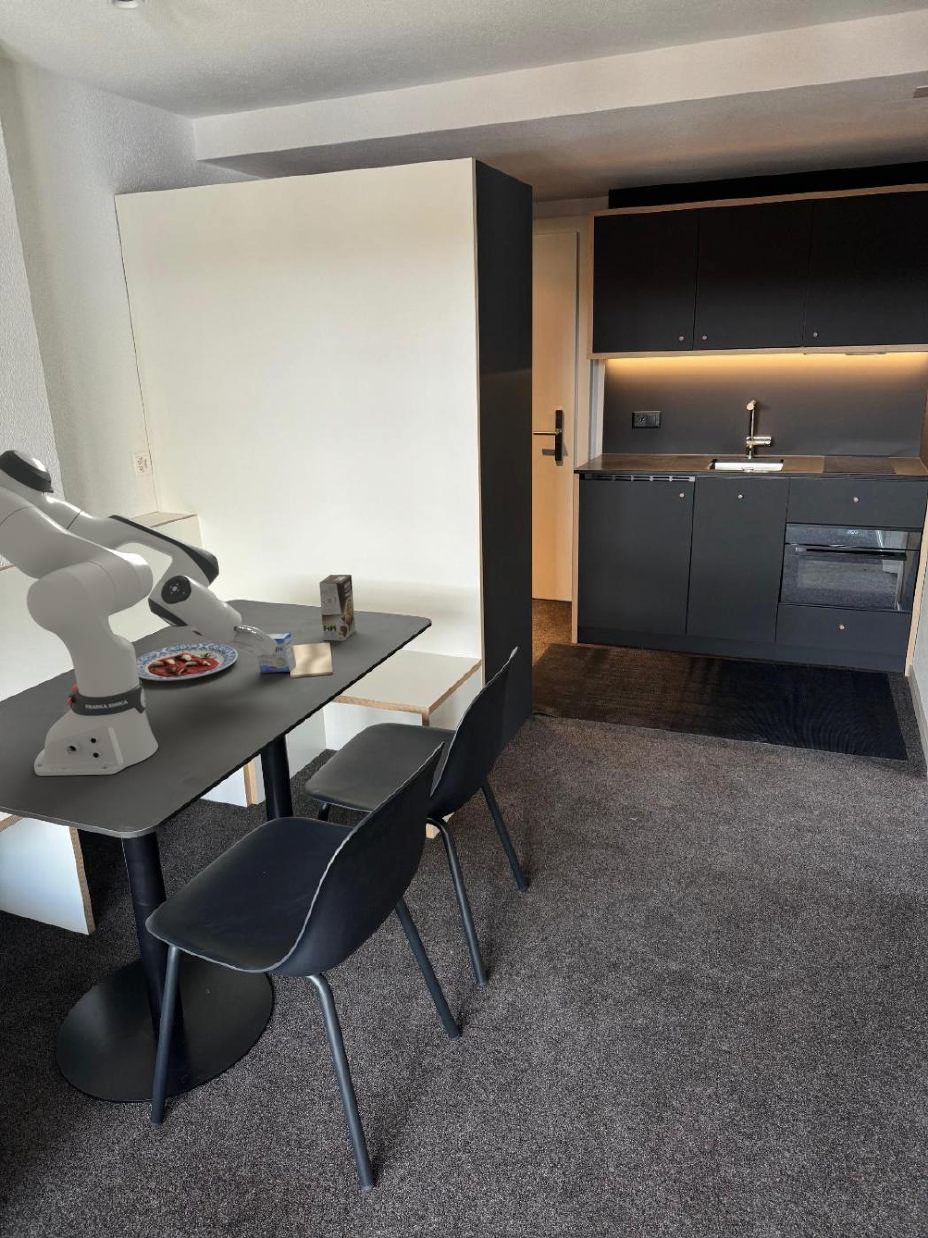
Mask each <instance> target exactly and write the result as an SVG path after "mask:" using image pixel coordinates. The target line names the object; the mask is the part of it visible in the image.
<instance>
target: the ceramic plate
mask: <svg viewBox="0 0 928 1238" xmlns="http://www.w3.org/2000/svg"><path fill="white" fill-rule="evenodd" d="M238 654H239V653H238V651H237V650H236V649H234V647H232V646H228V645H224V644H222V645H217V644H214V643H212V642H210V643H207V642H204V643H203V642H201V643H199V642H198V643H197V642H196V643H185V644H177V645H172V646H167V647H162V648H159V649H157V650H153V651H150V652H147V653H144V654H143V655H141V656H139V657H136V663H137V669H138V676H139V679H144V680H151V681H158V682H159V681H160V682H161V681H162V682H163V681H181V680H182V681H184V680H190V679H195V678H201V677H204V676H208V675H211V674H214V673H217V672H221V671H223V670H224V669H227V668H228V667H229V666H231V665H232V664H234V663H235V662H236V661H237V659H238V657H239V655H238Z"/></svg>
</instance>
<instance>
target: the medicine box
mask: <svg viewBox="0 0 928 1238" xmlns="http://www.w3.org/2000/svg"><path fill="white" fill-rule="evenodd" d="M266 634H267V633H266ZM267 635H269V636H270V637H271V638H273V639H274V640H275V641H276V642H277V646H276V648H275V650H274V652H273V653H272V655H271V656H269V655H265V654H262V655H261V656H259V655H256V656H257V661H258V666H259V671H260V673H285V672H290V673H291V670H292V669H293V668H294V667H295V666H296V660H295V654H294V649H293V645H294V644H293V638H292V634H291V633H288V632H287V633H268V634H267Z"/></svg>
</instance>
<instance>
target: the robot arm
mask: <svg viewBox="0 0 928 1238" xmlns="http://www.w3.org/2000/svg"><path fill="white" fill-rule="evenodd" d="M54 492H55V489H54V488H53V486H52V477H51V474H50V471H49V470H48V468H46V466H45V465H44V464H43V463H42V462H41V461H40V460H39V459H38V458H37V457H35V456H33V455H31V454H29V453H26V452H23V451H18V450H15V449H10V450H6V451H4V452H2V454H0V556H2V557H3V558H5V560H7V561H8V562H9V563H10V564H12V565H13V566H14V567H15V568H16V569H18V570H19V571H21V573H23V574H24V575H26V576H27V577H30V578H32V579H36V581H34V582H33V583H32V584H31V585H30V586H29V588H28V590H27V596H26V606H27V610H28V613H29V615H30V616H31V618H32V620H33V621H34V623H36V624H37V625H38V626H39V627H41V628H43V630H46V631H49V632H50V633H52V634H54V635H56V636H57V637H58V638H59V639H60V640H61V641H62V642H63V644H64V645H65V647H66V649H67V650H68V653H69V655H70V659H71V661H72V665H73V670H74V675H75V680H76V684H73V686H72V688H71V689H70V694H69V695H68V699H67V705H68V706H67V707H68V708H70V709H69V710H68V711H67V712H66V713H65V714H63V716H61V717H60V718H59V719H58V720H57V721H56V722H54V724H52V726H51V727H50V728H49V730H48V731H47V734H46V737H45V740H44V748H43V749H42V750H41V751H40V752H39V754H38V755H37V756H36V759H35V760H34V763H33V770H34V773H35V774H36V775H37V776H40V777H41V776H43V777H44V776H45V777H47V776H48V777H49V776H87V775H88V776H90V775H92V776H93V775H96V776H97V775H99V776H100V775H101V776H102V775H113V774H117V773H118V772H120V771H122V770H123V769H125V768H127V767H129V766H132V765H135V764H138V763H140V762H142V761H144V760H146V759H148V758H150V757H151V756H152V755H154V754H155V752H157V750H158V748H159V743H158V741H157V740H156V737H155V735H154V734H153V731H152V729H151V725H150V723H149V720H148V716H147V713H146V704H147V702H146V695H145V690H144V686H143V682H142V680H141V678H140V677H139V676H138V669H137V663H136V659H137V657H136V650H135V647H134V645H133V643H132V642H131V641H130V640H129V639H127V638H125V637H123V636H121V635H120V634H119V635H118V634H115V633H114V632H113V630H112V629H111V626H110V622H109V617H110V616H112V615H114V614H117V613H120V612H122V611H125V610H128V609H131V608H132V607H134V606H135V605H136V604H138V603H140V602H141V601H142V600H143V599H145V598H147V596H148V598H147V605H148V606H149V610H150V612H151V613H152V614H154V615H156V616H157V617H158V618H160V619H161V620H162V621H163V622H165V623H166V624H168V625H169V626H172V627H174V628H183V627H188V626H191V628H190V631H191V633H194V634H195V635H197V636H201V637H203V638H205V639H207V641H210V643H212V644H217V645H225V646H229V647H231V648H237V649H241V650H245V651H247V652H248V653H250V654H252V655H255V656H257V655H259V656H261V655H262V654H265V655H269V656H271V655H272V653H273V652H274V650H275V648H276V646H277V642H276V641H275V640H274V639H273V638H271V637H270V636H269V635H267V633H266V632H264V631H262V630H261V629H258V627H254V626H249V625H244V624H242V623H243V622H242V621H243V619H242V616H241V613H240V612H238V611H237V610H236V609H235V608H233V607H232V606H231V605H229V604H228V603H227V602H226V601H224V600H222V599H219V598H218V597H217V595H216V594H215V593H214V592H213V591H211V590H210V589H209V587H210V586H211V585H212V584H213V583H214V581H215V580H216V579H217V577H218V576H219V575H220V568H219V567H220V566H219V562H218V558H217V557H216V555H214V554H213V553H212V552H211V551H210V550H207V549H206V548H204V547H202V546H198V545H194V544H192V543H189V542H186V541H183V540H182V539H178V538H176V537H174V536H172V535H169V534H168V533H165V532H162V531H160V530H157V529H155V528H153V527H150V526H148V525H146V524H144V523H142V522H139V521H136V520H133V519H131V518H129V517H126V516H122V515H119V514H118V515H117V514H112V515H110V516H107V517H101V516H96V515H92V514H90V513H87V512H86V511H84V510H82V509H80V508H79V507H77V506H76V505H74V504H72V503H70V502H69V501H67V500H64V499H62V498H60V497H58V496H56V495H54ZM133 543H134V544H140V545H143V546H145V547H147V548H149V549H152V550H153V551H156V552H158V553H162V554H164V555H166V556H168V557H170V558H172V560H171V563H170V564H169V565H168V568H167V569H166V570H165V572H164V573H163V575H162V576H161V578H160V579H159V580H158V582H157V583H156V584H155V586H154V575H153V572H152V569H151V566H150V565H149V563H148V562H147V561H146V559H145V558H143V557H142V556H141V555H139V554H137V553H134V552H126V551H123V550H122V551H121V550H117V549H119V548H121V547H123V546H126V545H128V544H133Z"/></svg>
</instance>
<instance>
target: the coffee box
mask: <svg viewBox="0 0 928 1238" xmlns="http://www.w3.org/2000/svg"><path fill="white" fill-rule="evenodd" d="M353 591H354V590H353V578H352V574H330V575H328V576H327V577H326V578H324V579H322V580H321V581H320V582H319V594H320V596H319V597H320V608H321V609H320V610H321V621H322V635H323V636H322V637H323V640H325V641H336V642H337V641H339V642H345V641H347V639H348V638H350V637H351V635H353V633H355V631H356V620H355V606H354V594H353V593H354V592H353Z"/></svg>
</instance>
